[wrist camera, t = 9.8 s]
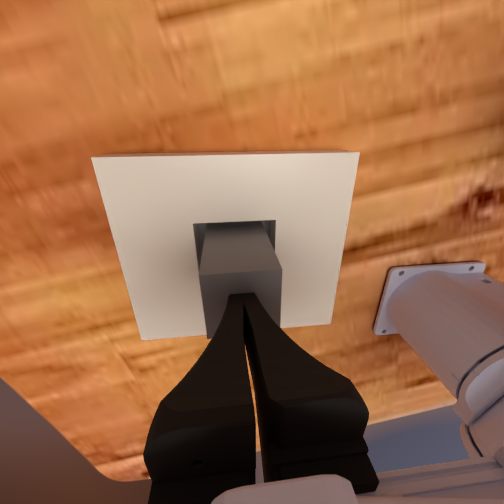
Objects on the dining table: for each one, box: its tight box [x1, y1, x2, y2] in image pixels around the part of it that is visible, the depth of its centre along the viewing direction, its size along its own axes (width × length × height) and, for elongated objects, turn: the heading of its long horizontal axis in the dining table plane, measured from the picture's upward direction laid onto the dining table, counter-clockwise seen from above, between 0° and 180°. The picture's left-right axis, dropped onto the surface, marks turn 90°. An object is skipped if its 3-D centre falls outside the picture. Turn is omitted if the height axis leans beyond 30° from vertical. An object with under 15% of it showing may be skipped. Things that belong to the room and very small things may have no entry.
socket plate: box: [91, 150, 360, 340], centre depth 19 cm, size 16×14×2 cm
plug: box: [199, 221, 282, 339], centre depth 16 cm, size 4×4×8 cm
